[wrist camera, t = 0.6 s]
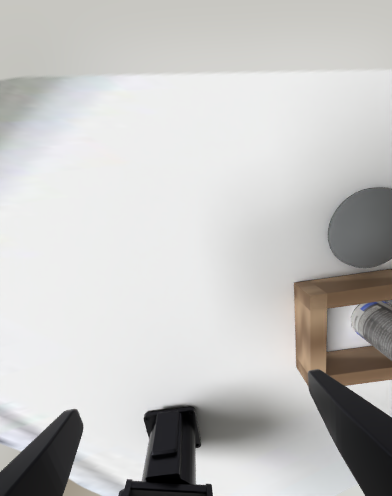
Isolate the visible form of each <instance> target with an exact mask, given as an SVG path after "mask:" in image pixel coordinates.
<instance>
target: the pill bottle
mask: <svg viewBox="0 0 392 496" xmlns="http://www.w3.org/2000/svg"><path fill="white" fill-rule="evenodd" d="M351 325H352V328H353V329H354V331H355V332H356V333H357V334H359V335H360V336H361V337H362V338H364V339H365V340H366V341H367V342H369V343H370V344H371V345H372V346H374V347H375V348H376V349H377V350H379V351H380V352H381V353H382V354H384V355H385V356H386V357H387V358H389V359H390V360H391V361H392V305H391V304H389V303H387V302H385V301H378V302H371V303H364V304H360V305H359V306H358V307H357V308H356V309H355V310H354V312H353V314H352V317H351Z"/></svg>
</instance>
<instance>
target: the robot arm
mask: <svg viewBox="0 0 392 496" xmlns="http://www.w3.org/2000/svg"><path fill="white" fill-rule="evenodd" d="M308 386H309V391H310V394H311V396H312V398H313V400H314V402H315V404H316V406H317V408H318V411H319V413H320V415H321V417H322V419H323V421H324V423H325V425H326V427H327V429H328V431H329V433H330V435H331V437H332V439H333V441H334V443H335V445H336V447H337V448H338V450H339V452H340V454H341V456H342V457H343V459H344V461H345V462H346V464H347V466H348V467H349V469H350V471H351V472H352V474H353V476H354V477H355V479H356V481H357V483H358V484H359V486H360V488H361V489H362V491H363V493H364V494H365V496H392V417H390V416H389V415H387V414H386V413H384V412H383V411H381V410H380V409H378V408H377V407H375V406H374V405H372V404H371V403H369V402H368V401H366V400H365V399H363V398H362V397H360V396H359V395H357V394H356V393H354V392H353V391H351V390H350V389H348V388H347V387H345V386H344V385H342V384H341V383H340V382H338V381H337V380H335V379H334V378H332V377H331V376H329V375H328V374H326V373H325V372H323V371H322V370H320V369H315V370H309V371H308ZM144 422H145V426H146V429H147V433H148V436H149V444H148V449H147V455H146V460H145V466H144V471H143V477H142V481H132V479H127V481H126V485H125V488H124V489H123V490H121V491H120V492H119V496H213V493H212V485H211V484H206V485H196V462H195V448H198V447H200V446H201V439H200V434H199V429H198V423H197V418H196V413H195V409H194V408H193V407H186V408H179V409H171V410H164V411H156V412H148V413H146V414H145V415H144ZM82 433H83V422H82V420H81V417H80V415H79V412H78V410H77V409H71V410H66V411H64V412H63V413H62V414H61V415H60V416H59V417H58V418H57V419H56V420H54V421H53V422H52V423H51V424H50V425H49V426H48V427H47V428H46V429H45V430H44V431H43V432H42V433H41V434H40V435H39V436H38V437H37V438H36V439H34V440H33V441H32V442H31V443H30V444H29V445H28V446H27V447H26V448H25V449H24V450H23V451H22V452H21V453H20V454H19V455H18V456H17V457H16V458H15V459H13V460H12V461H11V462H10V463H9V464H8V465H7V466H6V467H5V468H4V469H3V470H2V471H1V472H0V496H63V493H64V490H65V487H66V484H67V481H68V478H69V475H70V472H71V468H72V465H73V462H74V459H75V455H76V452H77V449H78V446H79V442H80V439H81V436H82Z"/></svg>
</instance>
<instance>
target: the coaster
mask: <svg viewBox="0 0 392 496" xmlns="http://www.w3.org/2000/svg"><path fill="white" fill-rule="evenodd" d="M328 241H329V245H330V248H331V250H332V252H333V253H334V255H335V256H336V257H337V258H338V259H339V260H341V261H342V262H344V263H346V264H348V265H351V266H354V267H358V268H370V267H375V266H378V265H381V264H383V263H385V262H387V261H389V260H390V259H392V189H390V188H369V189H364V190H362V191H359V192H357V193H355V194H353V195H351V196H350V197H348V198H347V199H346V200H345V201H344V202H343V203H342V204H341V205H340V206H339V207H338V208H337V210H336V211H335V213H334V215H333V217H332V219H331V221H330V224H329V229H328Z"/></svg>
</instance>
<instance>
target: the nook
mask: <svg viewBox="0 0 392 496" xmlns="http://www.w3.org/2000/svg"><path fill="white" fill-rule="evenodd" d="M294 300H295V335H296V367H297V369H298V370H299V372H300V374H301V375H302V377H303V378H304V380H305V382H306V383H307V385H308V371H309V370H315V369H320V370H322V371H323V372H325V373H326V374H328V375H329V376H331V377H332V378H334V379H335V380H337V381H338V382H340V383H341V384H342V385H344V386H347V385H354V384H362V383H369V382H377V381H384V380H392V361H391V360H390V359H389V358H387V357H386V356H385V355H384V354H382V353H381V352H380V351H379V350H377V349H376V348H375V347H374V346H368V347H360V348H353V349H345V350H338V351H331V352H326V341H327V309H328V308H335V307H342V306H350V305H357V304H364V303H371V302H378V301H386V300H392V269H387V270H380V271H373V272H366V273H359V274H352V275H345V276H338V277H331V278H324V279H317V280H310V281H303V282H296V283H294ZM308 387H309V386H308Z"/></svg>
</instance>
